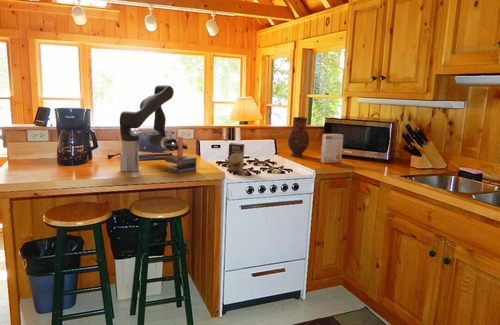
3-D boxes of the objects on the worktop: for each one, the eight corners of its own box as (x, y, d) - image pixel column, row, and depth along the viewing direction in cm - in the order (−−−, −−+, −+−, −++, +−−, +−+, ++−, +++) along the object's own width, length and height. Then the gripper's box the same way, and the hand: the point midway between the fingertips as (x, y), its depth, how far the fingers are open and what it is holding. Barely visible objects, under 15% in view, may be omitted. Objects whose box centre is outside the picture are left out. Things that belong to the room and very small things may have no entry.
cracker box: (336, 162, 276) (339, 133, 272) (341, 163, 270) (344, 134, 266) (319, 162, 271) (322, 133, 267) (324, 163, 266) (326, 134, 262)
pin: (179, 171, 216) (180, 137, 213) (175, 170, 218) (176, 136, 214) (183, 171, 219) (184, 137, 215) (179, 170, 220) (180, 136, 217)
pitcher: (290, 158, 282) (293, 118, 277) (282, 153, 303) (284, 115, 297) (311, 158, 286) (314, 118, 280) (301, 153, 306) (304, 116, 301)
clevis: (178, 174, 210) (179, 160, 209) (164, 170, 217) (164, 157, 216) (196, 171, 221) (196, 157, 219) (182, 167, 228) (182, 154, 226)
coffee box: (227, 170, 226) (228, 144, 223) (228, 168, 233) (229, 142, 230) (242, 171, 226) (243, 145, 223) (243, 169, 232) (244, 143, 229)
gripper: (157, 138, 222) (170, 142, 209) (179, 137, 230) (193, 141, 217) (157, 150, 223) (170, 155, 210) (179, 149, 232) (193, 153, 219)
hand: (182, 148), depth 214 cm, fingers open, 5 cm apart
